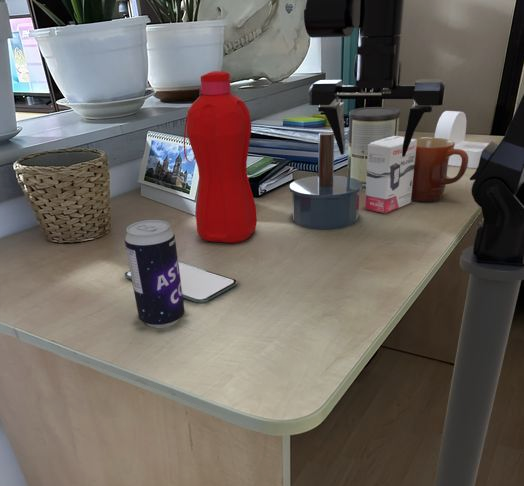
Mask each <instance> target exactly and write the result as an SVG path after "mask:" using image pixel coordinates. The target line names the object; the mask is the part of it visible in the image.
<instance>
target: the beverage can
mask: <svg viewBox="0 0 524 486" xmlns="http://www.w3.org/2000/svg"><path fill="white" fill-rule="evenodd" d="M125 230H126V235H125V238H124V245H125V251H126V255H127V261H128V266H129V271H130V272H131V278H132V280H131V282H132V288H133V293H134V299H135V305H136V309H137V314H138V319H139V320H140V321H141V322H143V324H146V325H147V326H149V327H151V328H156V329H163V328H169V327H171V326H174V325H175V324H177V323H178V322H179V321H180V320H181V318H182V317H183V316H184V315H185V312H186V310H185V309H186V308H185V304H184V303H185V301H184V298H183V294H182V287H181V279H180V272H179V264H178V262H179V258H178V251H177V242H176V237H175V236H176V235H175V234H174V232H173V230H172V229H171V224H170V223H169V222H167V221H165V220H161V219H147V220H142V221H137V222H133V223H131V224H129V225H128V226H127V227H126V229H125Z"/></svg>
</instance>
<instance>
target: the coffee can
mask: <svg viewBox="0 0 524 486" xmlns="http://www.w3.org/2000/svg"><path fill="white" fill-rule="evenodd" d="M348 116H349V119H348V147H347V168H346V169H347V174H346V177H350V178H353V179H356V180H358V181H360V182H361V183H362V188H366V177H367V158H368V144H370V143H371V142H375V141H378V140H381V139H385V138H388V137H392V136H399V124H400V116H401V109H399V108H395V107H388V106H370V107H359V108H355V109H351V110H349V111H348Z"/></svg>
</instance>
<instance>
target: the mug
mask: <svg viewBox="0 0 524 486" xmlns="http://www.w3.org/2000/svg"><path fill="white" fill-rule="evenodd" d="M415 139H416V140H417V147H416V156H415V165H414V175H413V185H412V194H411V201H414V202H420V203H430V202H431V203H432V202H436V201H438V200H440V199H441V198H442V197H443V196H444V193H445V190H446V186H447V185H452V184H454V183H456V182H458V181H460V180H461V179H462V178H463V176H464V175H465V174H466V171H467V168H468V167H467V166H468V155H467V153H466V152H465V151H464V150H461V149H454V146H455V142H453V141H451V140H448V139H442V138H434V137H427V138H423V137H419V138H415ZM454 154H457V155H460V156H461V158H462V163H461V167H460V166H459V171H458V173H457V174H456V175H455V176H453V177H448V166H449V165H448V161H449V157H450V156H452V155H454Z"/></svg>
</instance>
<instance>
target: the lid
mask: <svg viewBox="0 0 524 486" xmlns="http://www.w3.org/2000/svg"><path fill="white" fill-rule="evenodd" d="M317 163H318V167H317V171H318V173H317V174H318V175H313V176H306V177H301V178H299V179H296V180H294V181H292V182H291V183H290V184H289V191H290V192H291V194H292V193H294V194H296V195H298V196H302V197H308V198H318V199H329V198H340V197H346V196H350V195H354V194H356V193H358V192H359V193H361V191H362V190H363V187H362V183H361V182H360V181H358V180H356V179H353V178H350V177H347V176H344V175H343V176H342V175H334V170H335V169H334V168H335V166H334V165H335V136H334V133H333V131H322V132H319V133H318V161H317Z"/></svg>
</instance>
